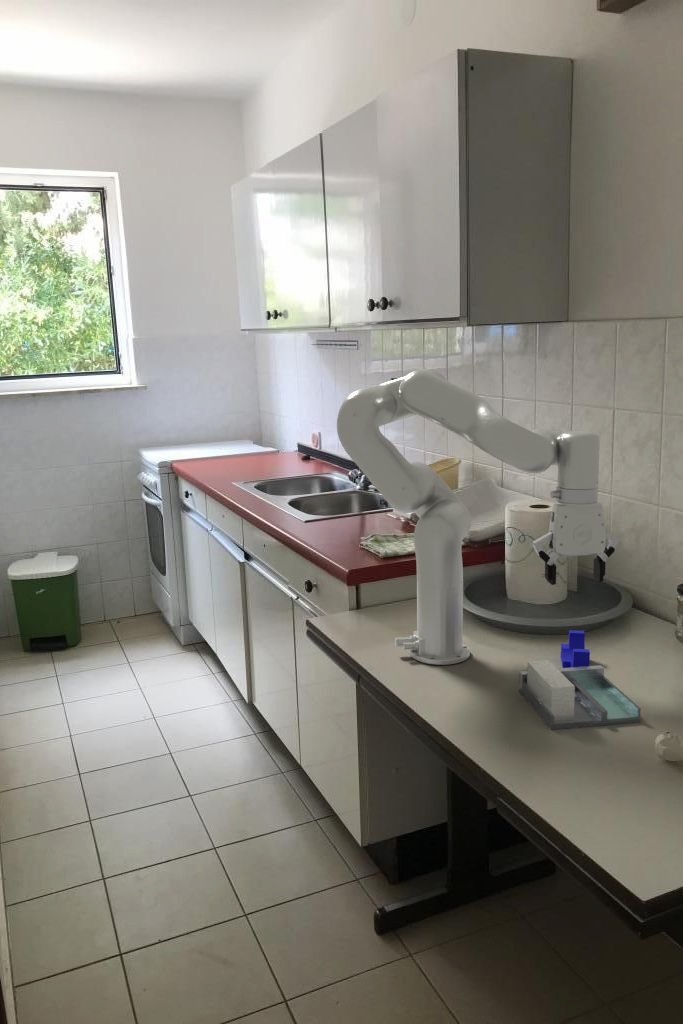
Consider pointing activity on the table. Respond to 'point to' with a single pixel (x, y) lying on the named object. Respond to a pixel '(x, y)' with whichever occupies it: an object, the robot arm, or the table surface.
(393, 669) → the table surface
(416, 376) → the robot arm
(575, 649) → the blue curved block
